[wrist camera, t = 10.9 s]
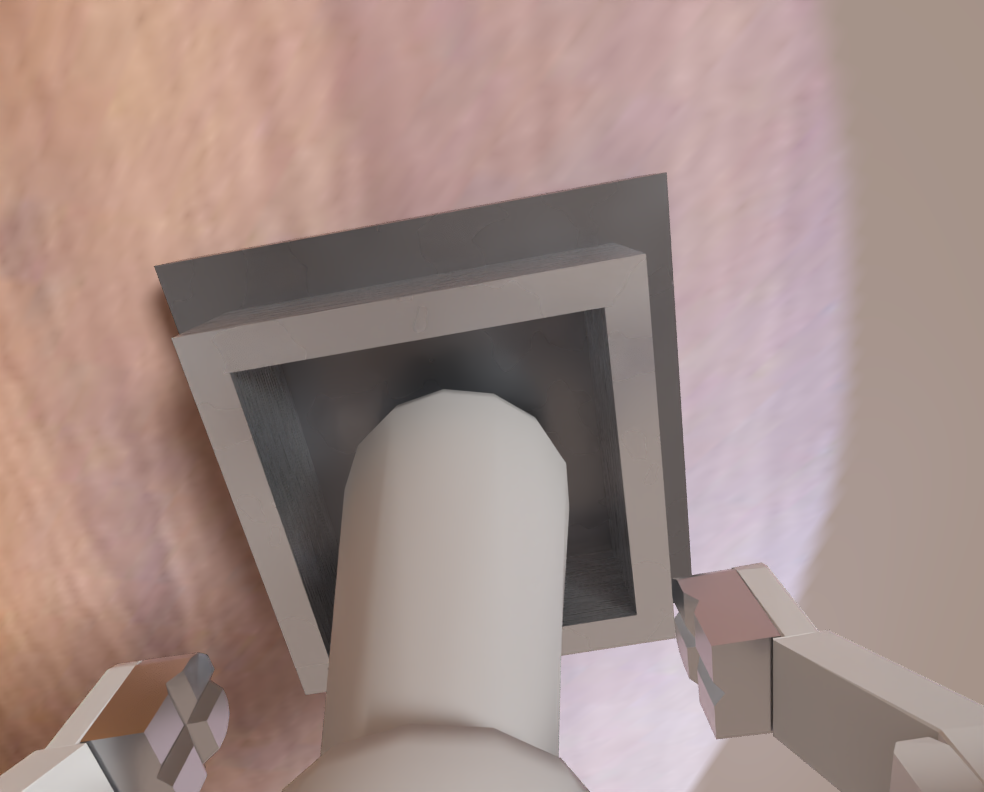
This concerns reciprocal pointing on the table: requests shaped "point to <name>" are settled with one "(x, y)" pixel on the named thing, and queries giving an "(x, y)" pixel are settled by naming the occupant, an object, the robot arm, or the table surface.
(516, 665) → the salt shaker
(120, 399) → the table surface
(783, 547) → the table surface
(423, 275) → the socket block
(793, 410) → the table surface
